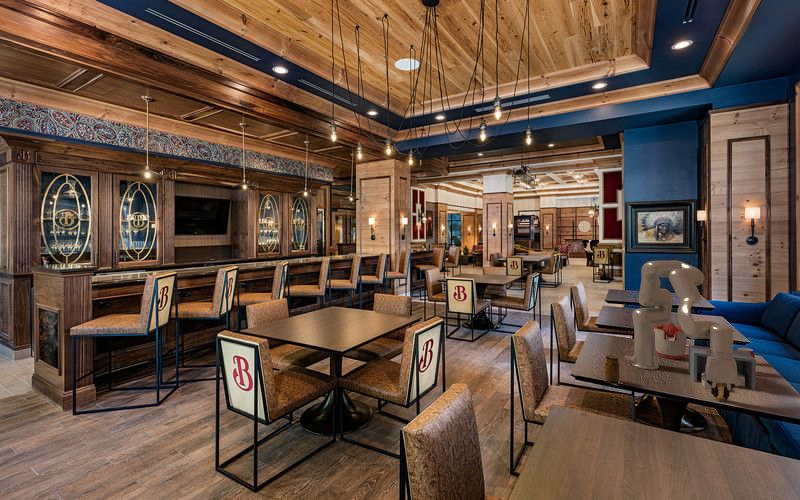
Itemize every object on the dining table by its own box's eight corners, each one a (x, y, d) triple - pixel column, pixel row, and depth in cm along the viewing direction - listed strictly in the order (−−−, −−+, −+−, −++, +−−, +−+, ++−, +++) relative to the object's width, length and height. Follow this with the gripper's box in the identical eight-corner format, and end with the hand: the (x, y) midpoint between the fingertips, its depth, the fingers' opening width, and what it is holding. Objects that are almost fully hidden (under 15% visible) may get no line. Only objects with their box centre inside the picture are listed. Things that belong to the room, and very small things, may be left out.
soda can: (758, 375, 187) (758, 351, 186) (741, 374, 188) (742, 350, 188) (747, 370, 194) (748, 347, 193) (732, 369, 195) (732, 346, 195)
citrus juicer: (653, 358, 213) (653, 324, 213) (653, 350, 228) (654, 318, 227) (687, 363, 205) (688, 327, 204) (685, 355, 219) (686, 321, 218)
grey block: (728, 385, 176) (728, 374, 176) (724, 380, 181) (724, 370, 181) (744, 387, 173) (745, 376, 173) (740, 382, 178) (741, 372, 178)
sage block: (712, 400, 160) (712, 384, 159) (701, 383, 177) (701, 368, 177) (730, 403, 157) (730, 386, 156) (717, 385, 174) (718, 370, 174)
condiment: (611, 377, 187) (611, 353, 186) (626, 383, 179) (626, 359, 178) (600, 379, 184) (600, 355, 184) (615, 386, 176) (615, 361, 176)
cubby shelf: (693, 381, 180) (694, 352, 179) (688, 372, 192) (688, 345, 191) (755, 390, 169) (755, 359, 168) (745, 379, 181) (746, 351, 181)
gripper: (698, 354, 159) (697, 396, 160) (749, 360, 151) (748, 404, 152) (695, 349, 166) (694, 390, 167) (743, 354, 158) (742, 397, 159)
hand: (720, 396), depth 159 cm, fingers closed on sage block, 3 cm apart
